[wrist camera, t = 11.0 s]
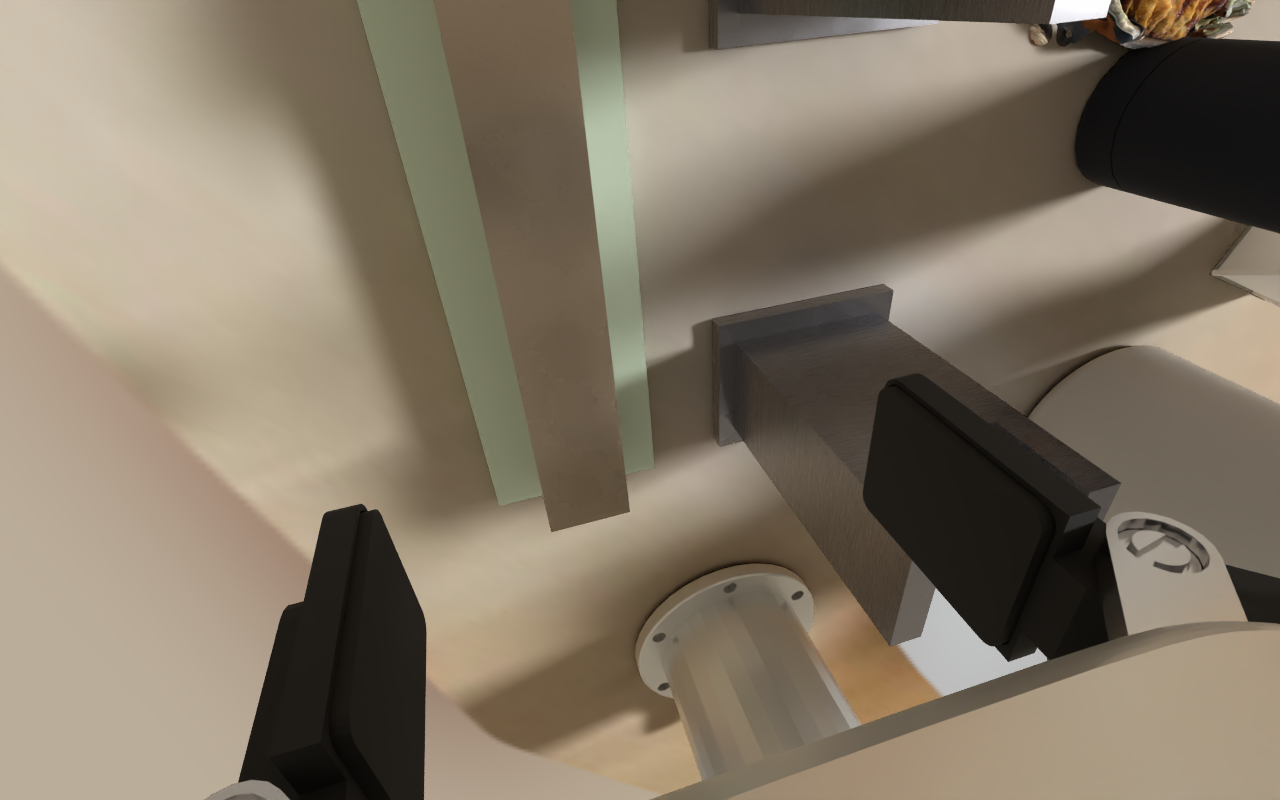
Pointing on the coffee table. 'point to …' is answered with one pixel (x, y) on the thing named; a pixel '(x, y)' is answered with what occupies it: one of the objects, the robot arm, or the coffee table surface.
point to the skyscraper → (1253, 264)
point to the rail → (541, 239)
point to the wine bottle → (1191, 128)
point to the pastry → (1151, 22)
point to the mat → (457, 240)
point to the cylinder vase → (1178, 447)
